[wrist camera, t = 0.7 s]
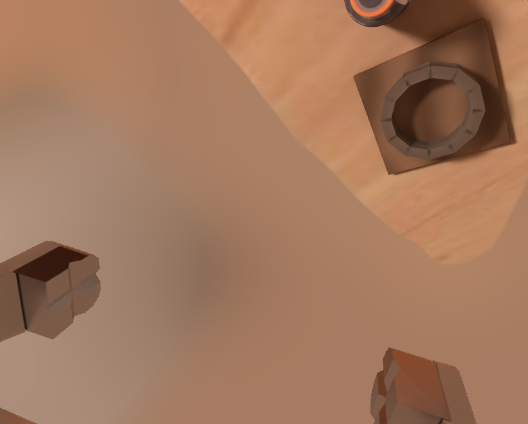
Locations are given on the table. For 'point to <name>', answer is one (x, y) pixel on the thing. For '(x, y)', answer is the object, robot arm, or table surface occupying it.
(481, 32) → the holder
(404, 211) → the table surface
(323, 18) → the table surface
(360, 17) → the pill bottle
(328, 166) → the table surface
